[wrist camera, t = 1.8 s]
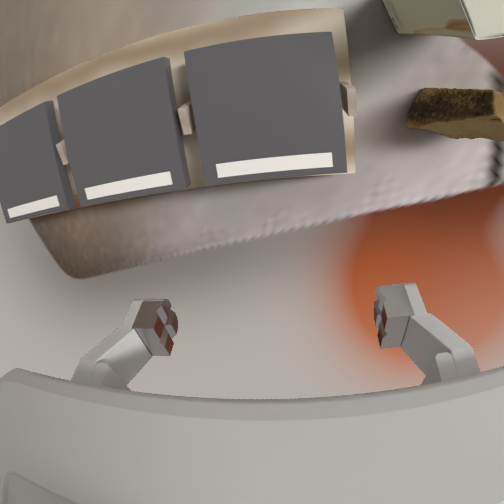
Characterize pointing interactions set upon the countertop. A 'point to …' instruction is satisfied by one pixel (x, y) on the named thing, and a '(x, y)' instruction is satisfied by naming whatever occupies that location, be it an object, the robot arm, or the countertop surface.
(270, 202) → the countertop surface
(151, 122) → the panel
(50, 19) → the countertop surface
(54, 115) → the panel
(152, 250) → the countertop surface
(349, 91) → the switch panel
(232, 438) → the robot arm
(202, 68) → the rocker
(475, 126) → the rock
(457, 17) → the skincare box
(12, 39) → the countertop surface
